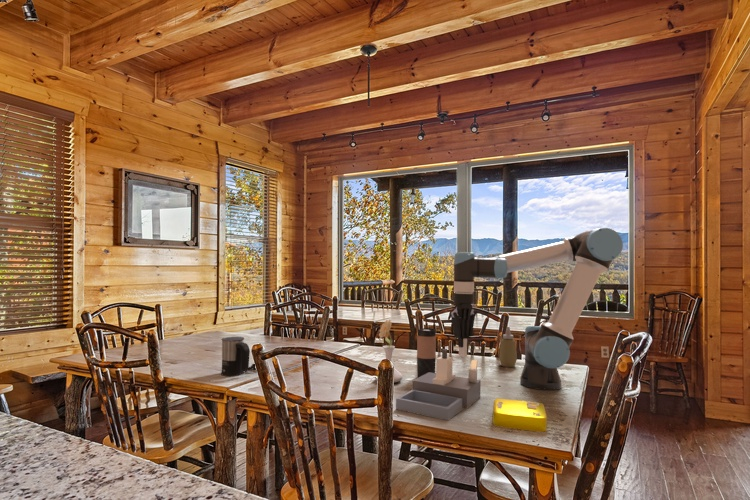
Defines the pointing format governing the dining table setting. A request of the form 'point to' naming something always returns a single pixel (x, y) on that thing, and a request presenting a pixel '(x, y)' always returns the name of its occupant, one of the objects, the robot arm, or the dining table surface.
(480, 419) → the dining table surface
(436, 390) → the socket block
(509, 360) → the squeeze bottle
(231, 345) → the milk frother
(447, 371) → the plug
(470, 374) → the clip
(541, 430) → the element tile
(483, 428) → the dining table surface
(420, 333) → the travel mug
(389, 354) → the flower in vase
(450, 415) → the tray
